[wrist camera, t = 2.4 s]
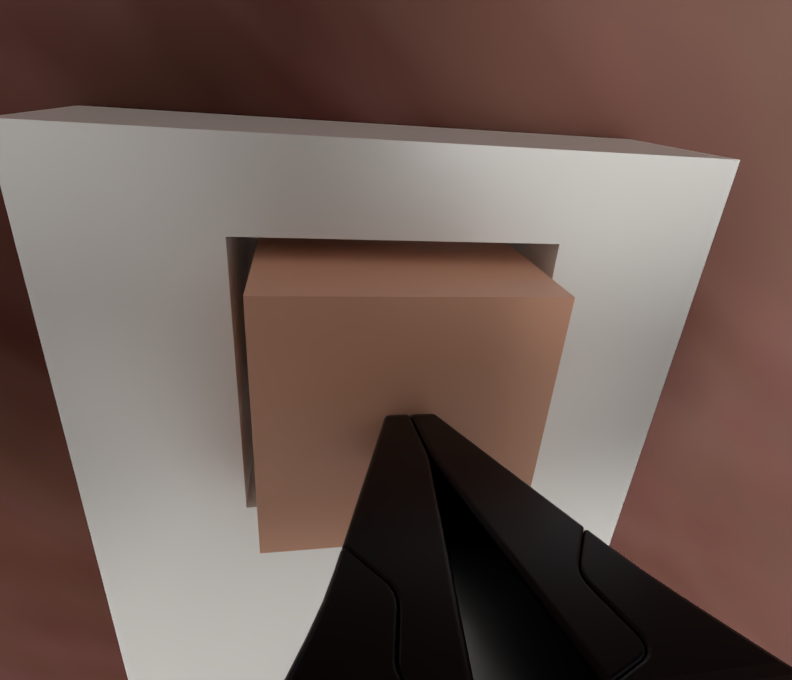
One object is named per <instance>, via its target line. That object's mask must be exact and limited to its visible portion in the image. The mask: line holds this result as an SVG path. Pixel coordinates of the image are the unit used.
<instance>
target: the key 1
mask: <svg viewBox="0 0 792 680" xmlns="http://www.w3.org/2000/svg"><path fill="white" fill-rule="evenodd" d="M574 300H575V297H574V296H573V295H571V294H570V293H569V292H568V291H566V290H565V289H564V288H563V287H562V286H560V285H559V284H558V283H557V282H555V281H554V280H553V279H552V278H550V277H549V276H548V275H547V274H545V273H544V272H543V271H542V270H540V269H539V268H538V267H537V266H535V265H534V264H533V263H532V262H530V261H529V260H528V259H527V258H525V257H524V256H523V255H522V254H520V253H519V252H518V251H517V250H515V249H514V248H513V247H512V246H510V245H509V244H508V243H488V242H443V241H399V240H354V239H310V238H265V237H259V238H258V242H257V246H256V249H255V253H254V257H253V261H252V264H251V268H250V272H249V276H248V279H247V283H246V287H245V291H244V294H243V304H244V319H245V334H246V350H247V365H248V380H249V395H250V410H251V425H252V441H253V456H254V471H255V486H256V501H257V516H258V532H259V547H260V553H272V552H285V551H297V550H310V549H322V548H335V547H342V546H343V543H344V540H345V537H346V534H347V531H348V528H349V525H350V522H351V518H352V515H353V512H354V509H355V506H356V503H357V500H358V497H359V494H360V491H361V488H362V485H363V482H364V479H365V476H366V473H367V470H368V467H369V464H370V461H371V457H372V454H373V451H374V448H375V445H376V442H377V439H378V436H379V433H380V430H381V427H382V424H383V421H384V418H385V417H386V416H387V415H408V416H410V417H411V416H412V415H414V414H435V415H436V416H438V417H439V418H441V419H442V420H443V421H444V422H446V423H447V424H448V425H450V426H451V427H452V428H454V429H455V430H456V431H458V432H459V433H460V434H462V435H463V436H464V437H466V438H467V439H468V440H470V441H471V442H472V443H474V444H475V445H476V446H478V447H479V448H480V449H481V450H483V451H484V452H485V453H487V454H488V455H489V456H491V457H492V458H493V459H495V460H496V461H497V462H499V463H500V464H501V465H503V466H504V467H505V468H507V469H508V470H509V471H511V472H512V473H513V474H514V475H516V476H517V477H518V478H520V479H521V480H522V481H524V482H525V483H526V484H528V485H529V486H530V487H531V484H532V480H533V475H534V471H535V467H536V462H537V458H538V454H539V450H540V445H541V441H542V437H543V432H544V428H545V424H546V420H547V415H548V411H549V407H550V403H551V398H552V394H553V390H554V385H555V381H556V377H557V373H558V368H559V364H560V360H561V355H562V351H563V347H564V343H565V338H566V334H567V330H568V326H569V321H570V317H571V313H572V308H573V304H574Z"/></svg>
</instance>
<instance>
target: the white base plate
mask: <svg viewBox="0 0 792 680" xmlns="http://www.w3.org/2000/svg"><path fill="white" fill-rule="evenodd" d="M739 162H740V160H739V159H733V158H728V157H723V156H717V155H712V154H707V153H701V152H696V151H691V150H685V149H680V148H675V147H669V146H664V145H658V144H653V143H648V142H642V141H637V140H632V139H618V138H601V137H585V136H569V135H553V134H536V133H520V132H504V131H488V130H471V129H455V128H439V127H422V126H406V125H390V124H374V123H357V122H341V121H325V120H309V119H292V118H276V117H260V116H243V115H227V114H211V113H195V112H178V111H162V110H146V109H130V108H113V107H97V106H81V105H77V106H69V107H61V108H53V109H45V110H37V111H29V112H20V113H12V114H4V115H0V187H1V191H2V195H3V199H4V202H5V206H6V210H7V214H8V218H9V222H10V226H11V229H12V233H13V237H14V241H15V245H16V249H17V253H18V256H19V260H20V264H21V268H22V272H23V276H24V280H25V284H26V287H27V291H28V295H29V299H30V303H31V307H32V311H33V314H34V318H35V322H36V326H37V330H38V334H39V338H40V341H41V345H42V349H43V353H44V357H45V361H46V365H47V368H48V372H49V376H50V380H51V384H52V388H53V392H54V395H55V399H56V403H57V407H58V411H59V415H60V419H61V423H62V426H63V430H64V434H65V438H66V442H67V446H68V450H69V453H70V457H71V461H72V465H73V469H74V473H75V477H76V480H77V484H78V488H79V492H80V496H81V500H82V504H83V507H84V511H85V515H86V519H87V523H88V527H89V531H90V534H91V538H92V542H93V546H94V550H95V554H96V558H97V561H98V565H99V569H100V573H101V577H102V581H103V585H104V589H105V592H106V596H107V600H108V604H109V608H110V612H111V616H112V619H113V623H114V627H115V631H116V635H117V639H118V643H119V646H120V650H121V654H122V658H123V662H124V666H125V670H126V673H127V677H128V680H284V679H285V677H286V675H287V673H288V672H289V670H290V668H291V666H292V664H293V662H294V660H295V658H296V656H297V654H298V652H299V650H300V648H301V646H302V644H303V642H304V640H305V638H306V636H307V634H308V632H309V630H310V627H311V625H312V623H313V621H314V619H315V617H316V614H317V612H318V610H319V608H320V606H321V604H322V601H323V599H324V596H325V593H326V591H327V588H328V585H329V583H330V580H331V577H332V575H333V572H334V569H335V566H336V563H337V560H338V557H339V554H340V551H341V550H342V547H335V548H322V549H310V550H297V551H285V552H272V553H260V547H259V532H258V516H257V501H256V486H255V471H254V456H253V441H252V425H251V410H250V395H249V380H248V365H247V350H246V334H245V319H244V304H243V294H244V291H245V287H246V283H247V279H248V276H249V272H250V268H251V264H252V261H253V257H254V253H255V249H256V246H257V242H258V238H259V237H265V238H310V239H354V240H399V241H443V242H488V243H508V244H509V245H510V246H512V247H513V248H514V249H515V250H517V251H518V252H519V253H520V254H522V255H523V256H524V257H525V258H527V259H528V260H529V261H530V262H532V263H533V264H534V265H535V266H537V267H538V268H539V269H540V270H542V271H543V272H544V273H545V274H547V275H548V276H549V277H550V278H552V279H553V280H554V281H555V282H557V283H558V284H559V285H560V286H562V287H563V288H564V289H565V290H566V291H568V292H569V293H570V294H571V295H573V296H574V297H575V300H574V304H573V308H572V313H571V317H570V321H569V326H568V330H567V334H566V338H565V343H564V347H563V351H562V355H561V360H560V364H559V368H558V373H557V377H556V381H555V385H554V390H553V394H552V398H551V403H550V407H549V411H548V415H547V420H546V424H545V428H544V432H543V437H542V441H541V445H540V450H539V454H538V458H537V462H536V467H535V471H534V475H533V480H532V484H531V487H532V488H533V489H534V490H536V491H537V492H538V493H540V494H541V495H542V496H544V497H545V498H546V499H547V500H549V501H550V502H551V503H553V504H554V505H555V506H557V507H558V508H559V509H561V510H562V511H563V512H565V513H566V514H567V515H569V516H570V517H571V518H573V519H574V520H575V521H577V522H578V523H579V524H581V525H582V526H583V528H584V531H585V530H589V531H590V532H591V533H593V534H594V535H595V536H597V537H598V538H599V539H601V540H602V541H603V542H605V543H606V544H607V545H609V544H610V541H611V538H612V535H613V532H614V529H615V526H616V523H617V520H618V518H619V515H620V512H621V509H622V506H623V503H624V500H625V497H626V494H627V491H628V488H629V485H630V482H631V479H632V476H633V473H634V471H635V468H636V465H637V462H638V459H639V456H640V453H641V450H642V447H643V444H644V441H645V438H646V435H647V432H648V429H649V426H650V424H651V421H652V418H653V415H654V412H655V409H656V406H657V403H658V400H659V397H660V394H661V391H662V388H663V385H664V382H665V379H666V377H667V374H668V371H669V368H670V365H671V362H672V359H673V356H674V353H675V350H676V347H677V344H678V341H679V338H680V335H681V332H682V330H683V327H684V324H685V321H686V318H687V315H688V312H689V309H690V306H691V303H692V300H693V297H694V294H695V291H696V288H697V286H698V283H699V280H700V277H701V274H702V271H703V268H704V265H705V262H706V259H707V256H708V253H709V250H710V247H711V244H712V241H713V239H714V236H715V233H716V230H717V227H718V224H719V221H720V218H721V215H722V212H723V209H724V206H725V203H726V200H727V197H728V194H729V192H730V189H731V186H732V183H733V180H734V177H735V174H736V171H737V168H738V165H739Z"/></svg>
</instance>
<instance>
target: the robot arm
mask: <svg viewBox="0 0 792 680" xmlns="http://www.w3.org/2000/svg"><path fill="white" fill-rule="evenodd" d="M284 680H792V667H791V666H790V665H788V664H786V663H785V662H783V661H781V660H780V659H778V658H777V657H775V656H774V655H772V654H770V653H769V652H767V651H766V650H764V649H763V648H761V647H760V646H758V645H756V644H755V643H753V642H752V641H750V640H749V639H747V638H746V637H744V636H743V635H741V634H739V633H738V632H736V631H735V630H733V629H732V628H730V627H729V626H727V625H725V624H724V623H722V622H721V621H719V620H718V619H716V618H715V617H713V616H711V615H710V614H708V613H707V612H705V611H704V610H702V609H701V608H699V607H698V606H696V605H694V604H693V603H691V602H690V601H688V600H687V599H685V598H684V597H682V596H681V595H679V594H678V593H676V592H675V591H673V590H672V589H670V588H669V587H667V586H666V585H664V584H663V583H661V582H660V581H658V580H657V579H655V578H654V577H652V576H651V575H649V574H648V573H646V572H645V571H643V570H642V569H640V568H639V567H638V566H636V565H635V564H633V563H632V562H631V561H629V560H628V559H626V558H625V557H624V556H622V555H621V554H620V553H618V552H617V551H615V550H614V549H613V548H611V547H610V546H609V545H607V544H606V543H605V542H603V541H602V540H601V539H599V538H598V537H597V536H595V535H594V534H593V533H591V532H590V531H589V530H585V531H584V528H583V526H582V525H581V524H579V523H578V522H577V521H575V520H574V519H573V518H571V517H570V516H569V515H567V514H566V513H565V512H563V511H562V510H561V509H559V508H558V507H557V506H555V505H554V504H553V503H551V502H550V501H549V500H547V499H546V498H545V497H544V496H542V495H541V494H540V493H538V492H537V491H536V490H534V489H533V488H532V487H530V486H529V485H528V484H526V483H525V482H524V481H522V480H521V479H520V478H518V477H517V476H516V475H514V474H513V473H512V472H511V471H509V470H508V469H507V468H505V467H504V466H503V465H501V464H500V463H499V462H497V461H496V460H495V459H493V458H492V457H491V456H489V455H488V454H487V453H485V452H484V451H483V450H481V449H480V448H479V447H478V446H476V445H475V444H474V443H472V442H471V441H470V440H468V439H467V438H466V437H464V436H463V435H462V434H460V433H459V432H458V431H456V430H455V429H454V428H452V427H451V426H450V425H448V424H447V423H446V422H444V421H443V420H442V419H441V418H439V417H438V416H436V415H435V414H414V415H412V416H411V417H410V416H408V415H387V416H386V417H385V418H384V421H383V424H382V427H381V430H380V433H379V436H378V439H377V442H376V445H375V448H374V451H373V454H372V457H371V461H370V464H369V467H368V470H367V473H366V476H365V479H364V482H363V485H362V488H361V491H360V494H359V497H358V500H357V503H356V506H355V509H354V512H353V515H352V518H351V522H350V525H349V528H348V531H347V534H346V537H345V540H344V543H343V546H342V550H341V551H340V554H339V557H338V560H337V563H336V566H335V569H334V572H333V575H332V577H331V580H330V583H329V585H328V588H327V591H326V593H325V596H324V599H323V601H322V604H321V606H320V608H319V610H318V612H317V614H316V617H315V619H314V621H313V623H312V625H311V627H310V630H309V632H308V634H307V636H306V638H305V640H304V642H303V644H302V646H301V648H300V650H299V652H298V654H297V656H296V658H295V660H294V662H293V664H292V666H291V668H290V670H289V672H288V673H287V675H286V677H285V679H284Z"/></svg>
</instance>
